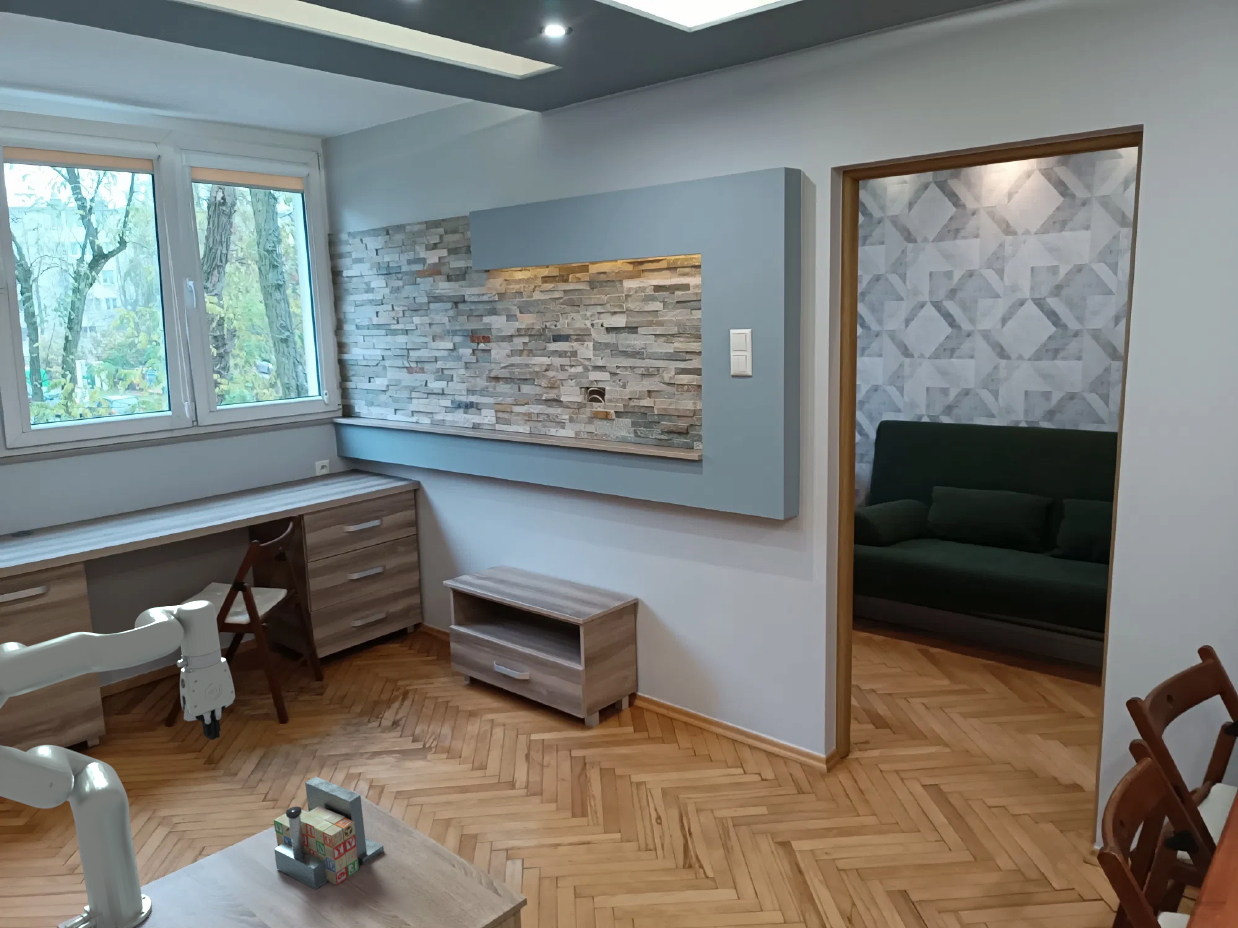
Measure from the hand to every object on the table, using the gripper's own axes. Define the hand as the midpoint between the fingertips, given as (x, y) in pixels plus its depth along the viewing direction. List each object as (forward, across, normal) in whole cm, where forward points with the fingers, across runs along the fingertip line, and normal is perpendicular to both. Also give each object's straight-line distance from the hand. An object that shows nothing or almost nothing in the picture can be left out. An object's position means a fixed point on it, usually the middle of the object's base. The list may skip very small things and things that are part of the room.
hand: (212, 736), depth 194 cm
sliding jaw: (+33, +8, -15) cm, 37 cm away
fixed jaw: (+33, +20, -15) cm, 41 cm away
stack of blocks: (+33, +13, -14) cm, 38 cm away
